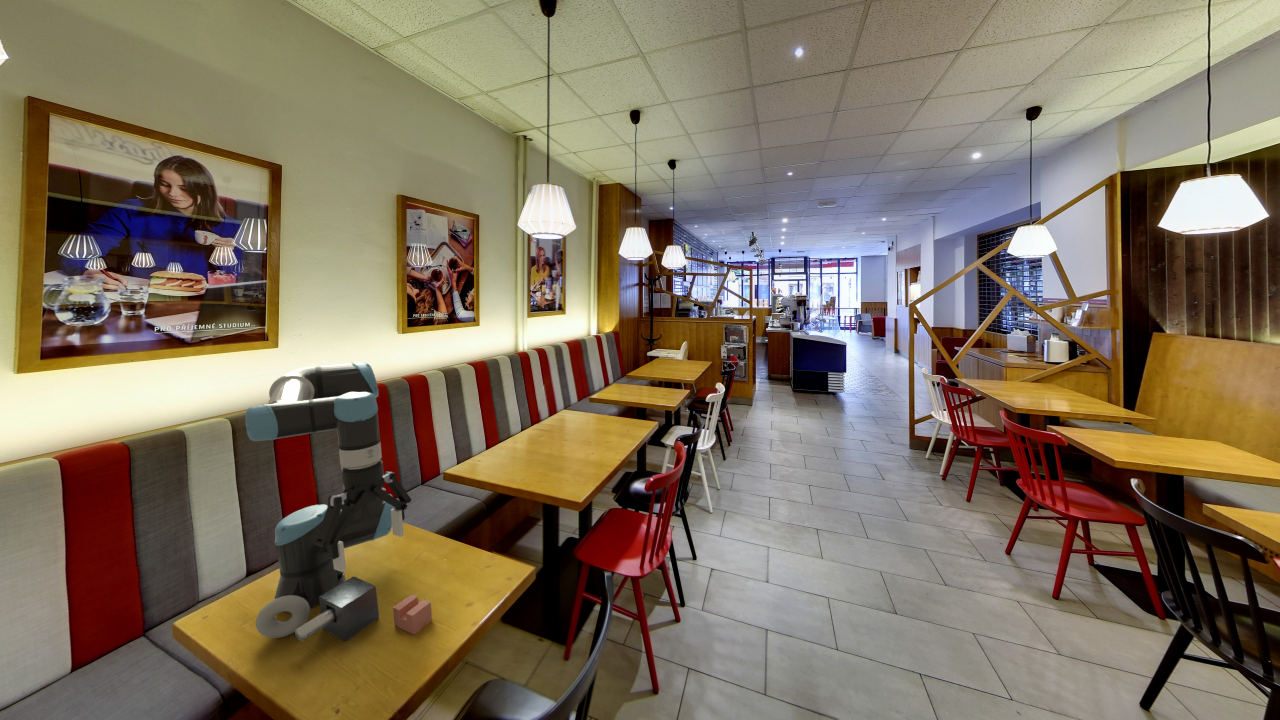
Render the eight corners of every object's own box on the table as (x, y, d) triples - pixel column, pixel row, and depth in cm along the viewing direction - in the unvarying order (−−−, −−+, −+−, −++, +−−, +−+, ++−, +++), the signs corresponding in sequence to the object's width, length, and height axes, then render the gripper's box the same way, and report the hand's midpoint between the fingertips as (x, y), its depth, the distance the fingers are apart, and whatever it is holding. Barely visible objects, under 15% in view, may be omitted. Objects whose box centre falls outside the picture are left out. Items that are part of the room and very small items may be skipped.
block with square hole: (322, 629, 98) (318, 596, 97) (356, 607, 105) (353, 576, 104) (345, 642, 95) (341, 607, 93) (379, 618, 102) (375, 585, 101)
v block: (394, 625, 99) (392, 607, 99) (413, 611, 104) (411, 594, 103) (413, 634, 97) (412, 616, 96) (432, 619, 101) (430, 601, 100)
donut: (256, 648, 93) (250, 609, 92) (261, 637, 96) (255, 600, 95) (310, 632, 98) (305, 595, 96) (314, 622, 101) (309, 586, 99)
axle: (296, 640, 91) (293, 628, 90) (360, 599, 103) (358, 588, 103) (303, 642, 89) (300, 629, 89) (367, 600, 102) (365, 589, 102)
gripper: (309, 490, 75) (322, 592, 78) (423, 446, 98) (429, 525, 102) (285, 484, 78) (298, 582, 81) (400, 442, 101) (407, 519, 104)
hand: (371, 551), depth 91 cm, fingers open, 13 cm apart
